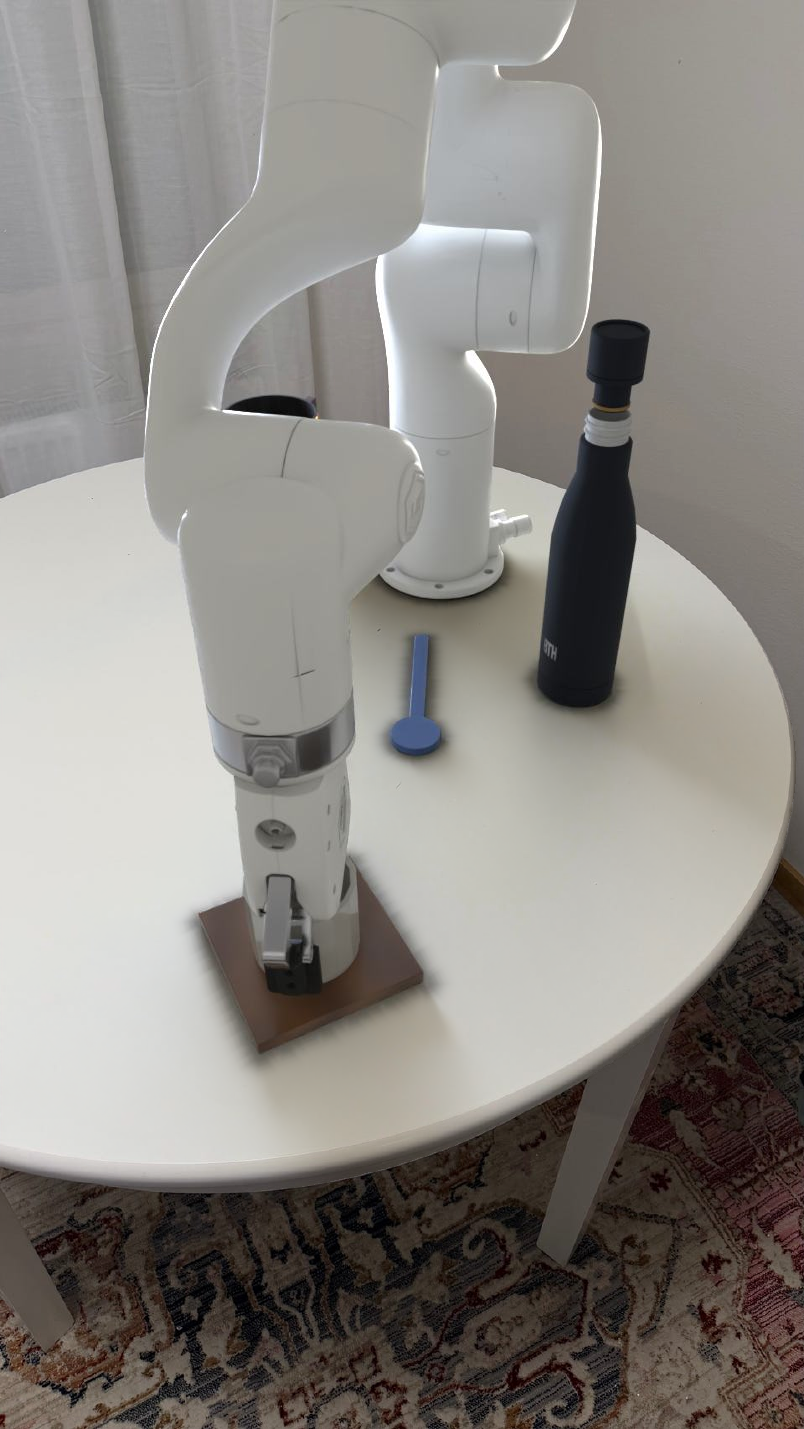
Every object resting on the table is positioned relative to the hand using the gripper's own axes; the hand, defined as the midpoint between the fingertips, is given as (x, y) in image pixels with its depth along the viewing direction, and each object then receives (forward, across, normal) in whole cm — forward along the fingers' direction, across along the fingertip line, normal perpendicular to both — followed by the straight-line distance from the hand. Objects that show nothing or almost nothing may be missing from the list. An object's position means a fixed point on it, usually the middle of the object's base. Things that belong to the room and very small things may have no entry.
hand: (305, 923), depth 63 cm
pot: (+2, 0, 0) cm, 2 cm away
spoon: (+3, +27, -6) cm, 27 cm away
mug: (+3, +58, +10) cm, 59 cm away
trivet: (+3, 0, 0) cm, 3 cm away
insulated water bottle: (+3, +28, -19) cm, 34 cm away
